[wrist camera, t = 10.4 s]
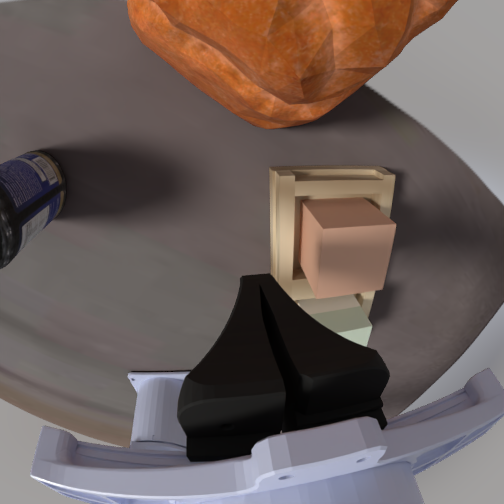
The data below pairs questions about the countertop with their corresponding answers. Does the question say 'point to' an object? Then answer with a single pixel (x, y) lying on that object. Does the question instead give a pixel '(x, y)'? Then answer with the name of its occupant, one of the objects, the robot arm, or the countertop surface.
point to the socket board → (317, 187)
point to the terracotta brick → (344, 245)
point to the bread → (281, 49)
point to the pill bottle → (28, 200)
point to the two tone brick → (340, 316)
